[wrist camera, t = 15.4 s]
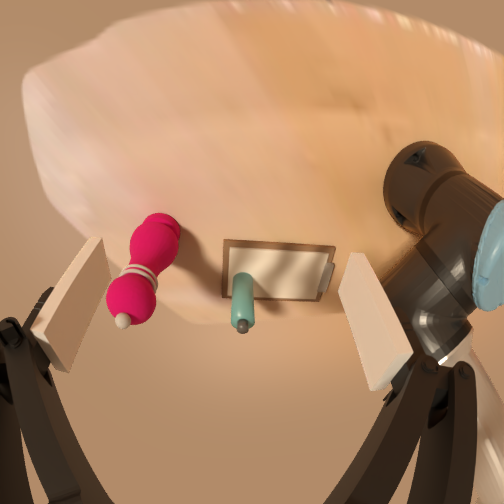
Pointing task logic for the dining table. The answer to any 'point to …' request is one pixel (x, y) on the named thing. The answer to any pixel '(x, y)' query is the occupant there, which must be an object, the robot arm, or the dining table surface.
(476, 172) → the dining table surface
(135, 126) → the dining table surface
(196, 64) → the dining table surface
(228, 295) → the clipboard
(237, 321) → the bottle
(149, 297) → the pepper mill
